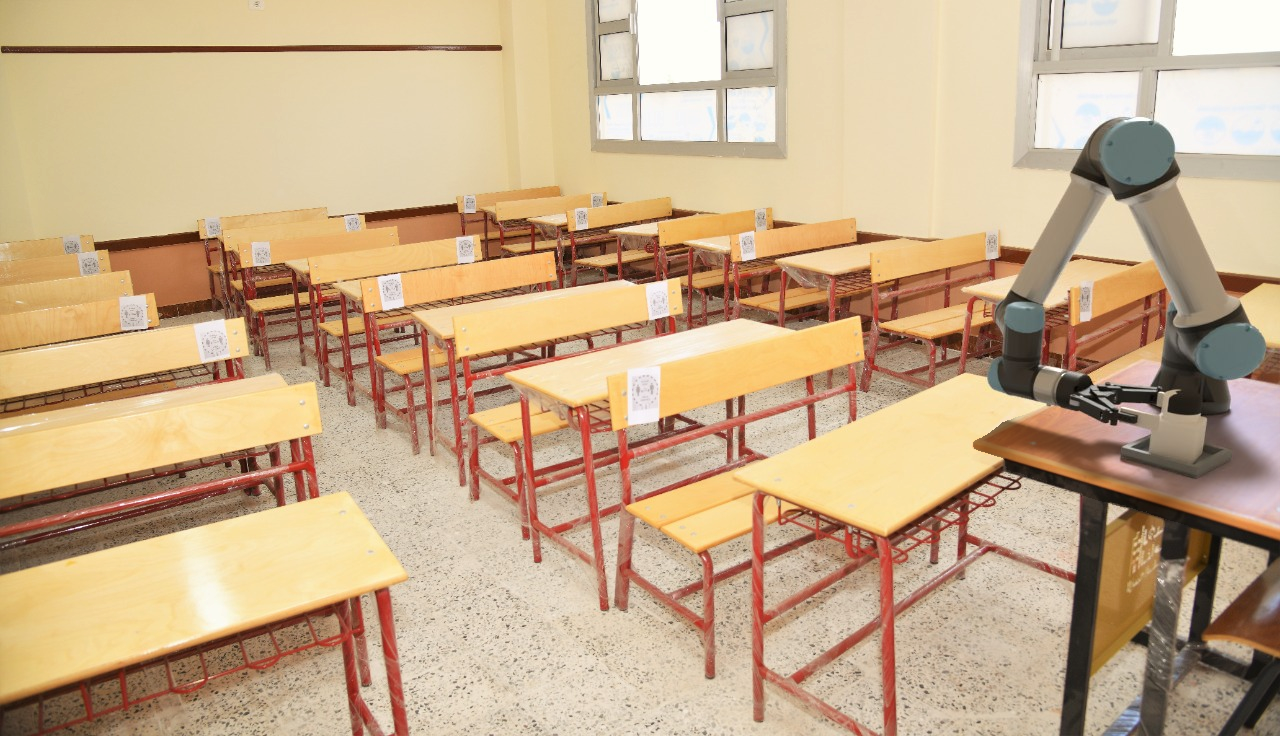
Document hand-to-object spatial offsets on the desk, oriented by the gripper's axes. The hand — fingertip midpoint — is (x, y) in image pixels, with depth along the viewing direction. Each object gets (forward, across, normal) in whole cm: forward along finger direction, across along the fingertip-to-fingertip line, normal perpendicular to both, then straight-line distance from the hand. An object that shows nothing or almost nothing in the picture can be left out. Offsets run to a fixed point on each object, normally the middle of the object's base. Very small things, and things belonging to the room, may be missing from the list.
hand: (1177, 415), depth 159 cm
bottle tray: (0, 0, -8) cm, 8 cm away
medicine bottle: (0, 0, -8) cm, 8 cm away
